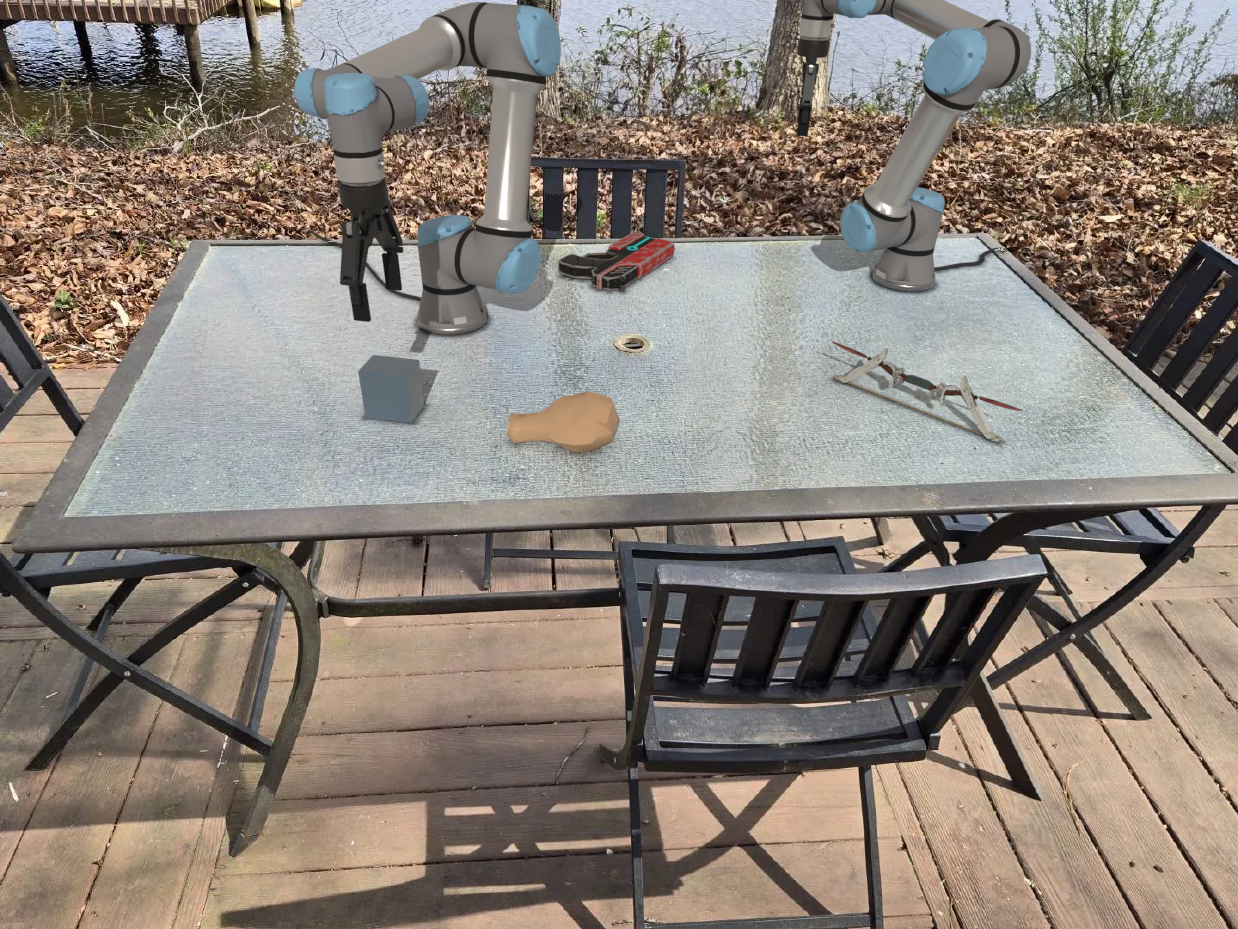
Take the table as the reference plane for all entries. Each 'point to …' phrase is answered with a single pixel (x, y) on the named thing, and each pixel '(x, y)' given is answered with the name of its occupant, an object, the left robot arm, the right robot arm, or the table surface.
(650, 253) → the gun
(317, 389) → the table surface
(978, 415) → the bow
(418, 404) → the grey rectangular block
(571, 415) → the squash
